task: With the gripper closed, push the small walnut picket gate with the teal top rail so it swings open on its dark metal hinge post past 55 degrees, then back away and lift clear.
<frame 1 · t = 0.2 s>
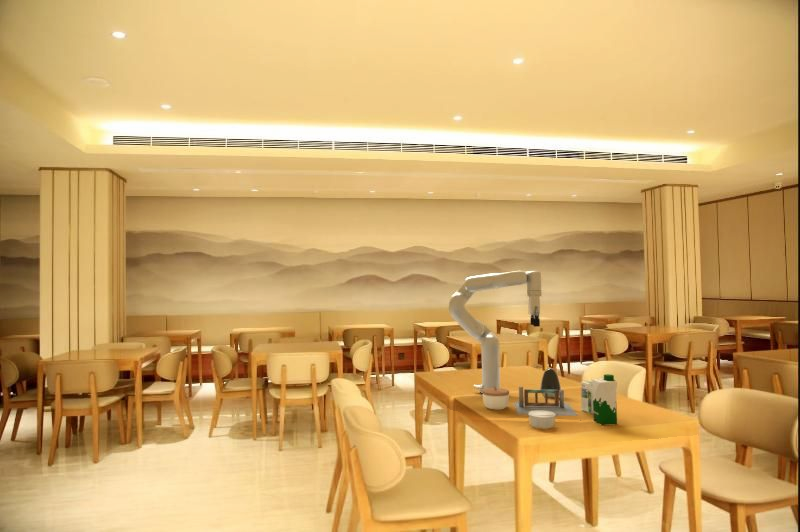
hand: (535, 325, 283), 36 cm above the table, tool pointing down, fingers open, 9 cm apart
syrup box: (590, 414, 238), on the table
milk carton: (605, 423, 224), on the table
gate leaf: (541, 397, 248), point 5 cm above the table, hinge at 0.0°
ramekin: (542, 426, 220), on the table
dark grey rounded block: (550, 398, 271), on the table
gate base: (544, 411, 245), on the table
lidded bowl: (496, 410, 249), on the table
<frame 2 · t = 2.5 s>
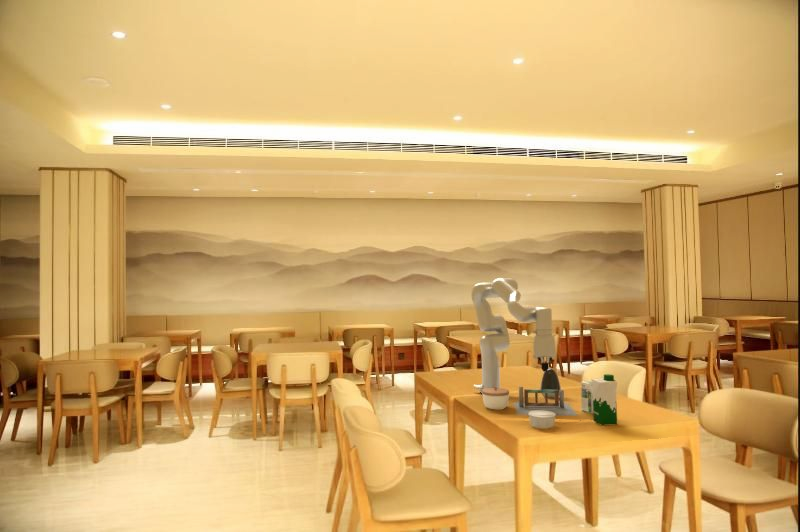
hand: (545, 370, 254), 17 cm above the table, tool pointing down, fingers closed
nothing on the table moved.
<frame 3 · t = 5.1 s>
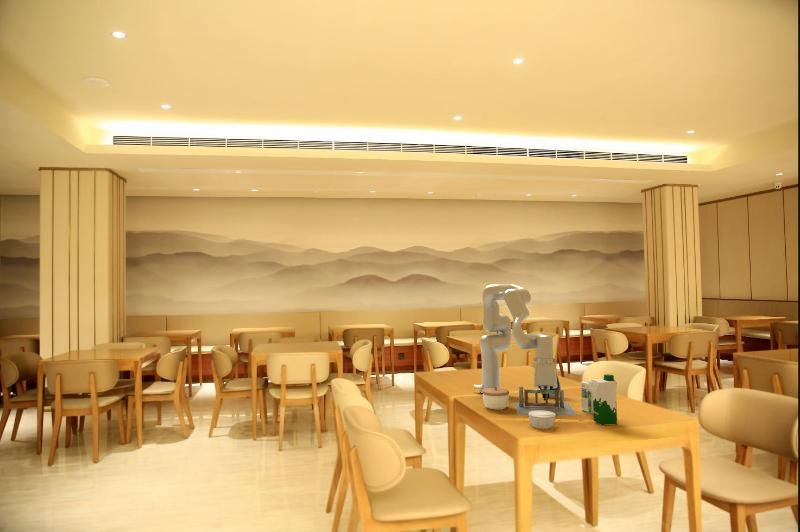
hand: (546, 399, 249), 4 cm above the table, tool pointing down, fingers closed
gate leaf: (541, 398, 247), point 5 cm above the table, hinge at 3.9°, touching gripper
everything else where it was.
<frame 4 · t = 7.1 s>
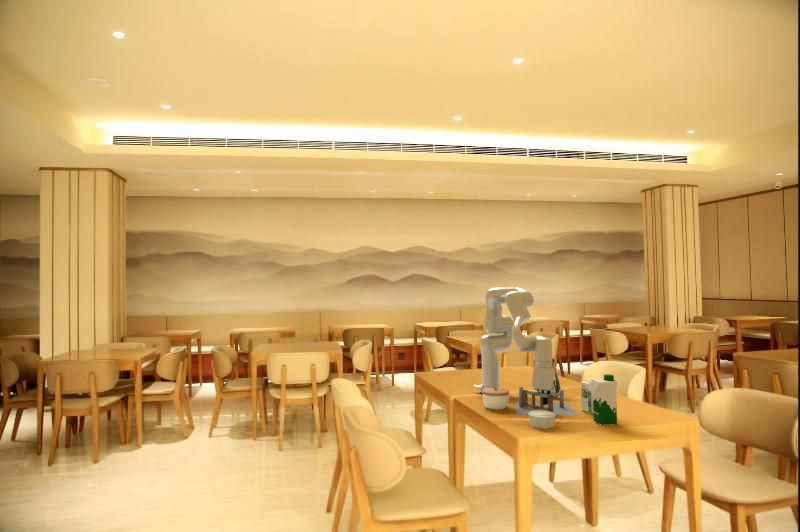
hand: (544, 404, 242), 4 cm above the table, tool pointing down, fingers closed
gate leaf: (537, 400, 242), point 5 cm above the table, hinge at 42.9°, touching gripper
everything else where it was.
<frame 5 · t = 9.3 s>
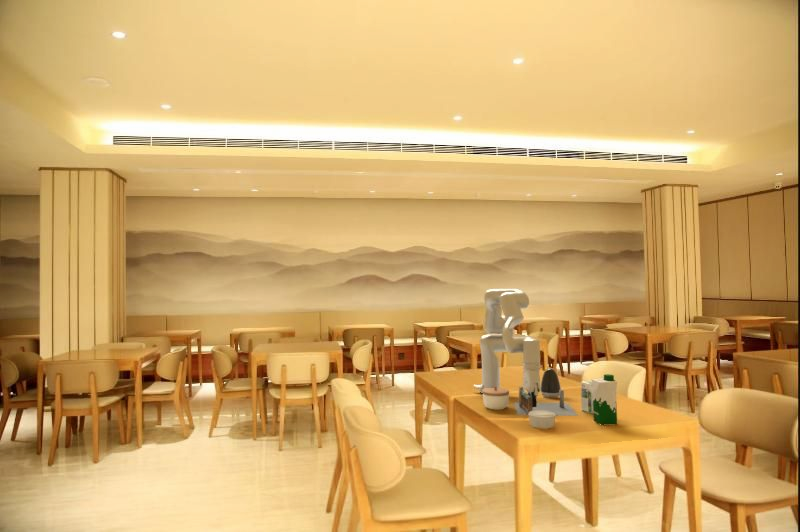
hand: (532, 406, 238), 4 cm above the table, tool pointing down, fingers closed
gate leaf: (526, 402, 240), point 5 cm above the table, hinge at 81.3°, touching gripper
everything else where it was.
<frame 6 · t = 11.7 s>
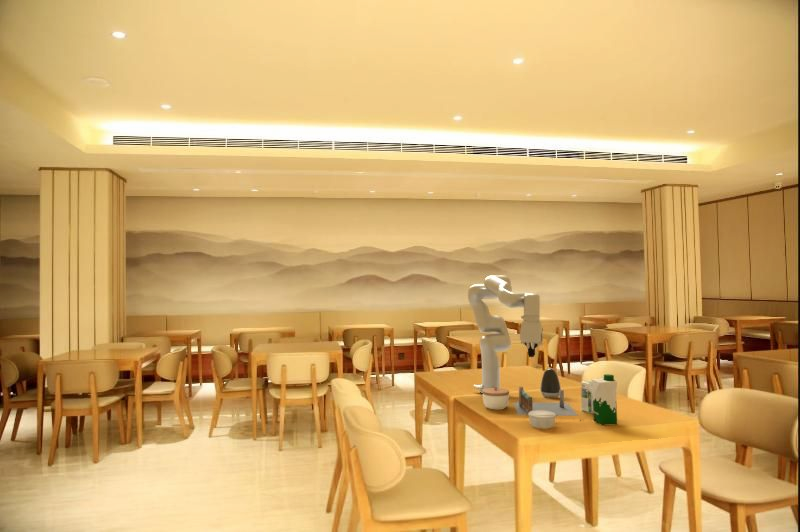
hand: (531, 356, 255), 24 cm above the table, tool pointing down, fingers closed
gate leaf: (526, 402, 240), point 5 cm above the table, hinge at 81.3°
everything else where it was.
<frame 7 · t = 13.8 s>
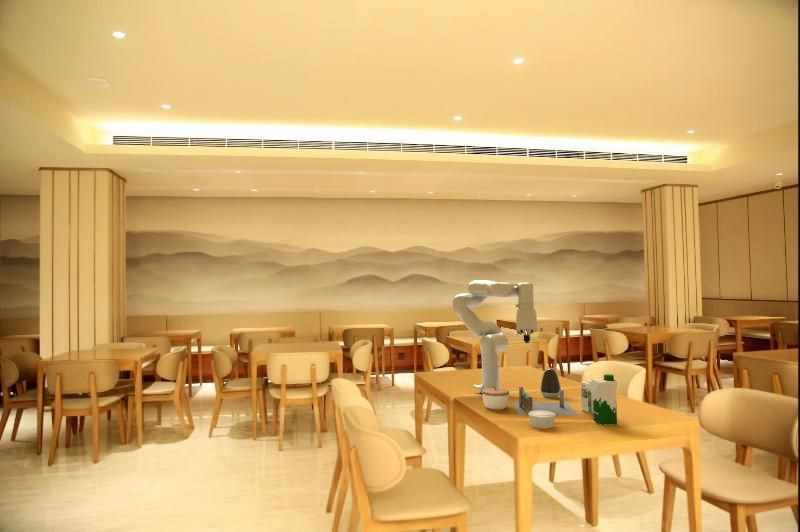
hand: (526, 342, 268), 29 cm above the table, tool pointing down, fingers closed
nothing on the table moved.
at the end: gate leaf at +81° (first picture: +0°) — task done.
